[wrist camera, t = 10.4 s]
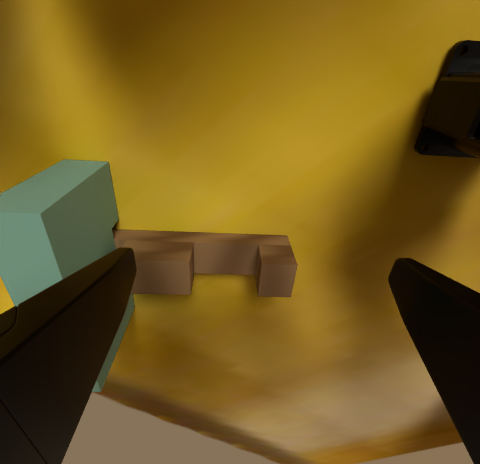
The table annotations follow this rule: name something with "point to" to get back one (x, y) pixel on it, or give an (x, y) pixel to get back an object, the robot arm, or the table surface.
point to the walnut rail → (207, 260)
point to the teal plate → (58, 232)
